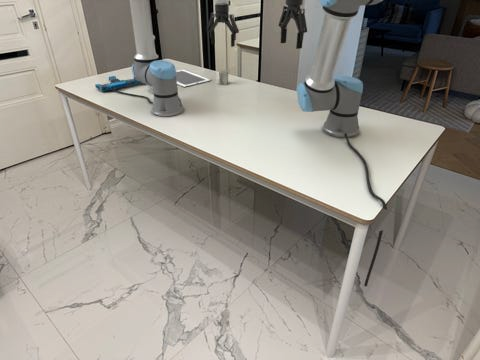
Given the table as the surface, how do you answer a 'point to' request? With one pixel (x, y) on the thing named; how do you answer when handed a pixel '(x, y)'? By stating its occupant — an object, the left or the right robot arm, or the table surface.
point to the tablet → (189, 78)
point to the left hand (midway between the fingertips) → (222, 45)
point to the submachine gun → (116, 84)
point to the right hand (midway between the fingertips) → (290, 45)
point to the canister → (223, 77)
